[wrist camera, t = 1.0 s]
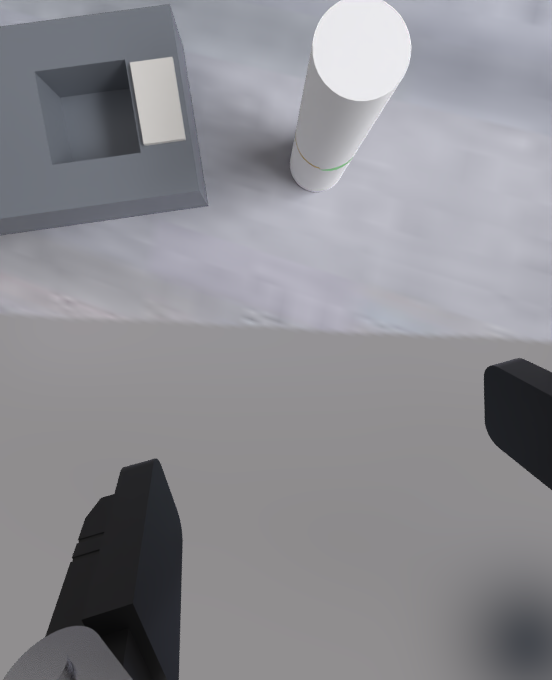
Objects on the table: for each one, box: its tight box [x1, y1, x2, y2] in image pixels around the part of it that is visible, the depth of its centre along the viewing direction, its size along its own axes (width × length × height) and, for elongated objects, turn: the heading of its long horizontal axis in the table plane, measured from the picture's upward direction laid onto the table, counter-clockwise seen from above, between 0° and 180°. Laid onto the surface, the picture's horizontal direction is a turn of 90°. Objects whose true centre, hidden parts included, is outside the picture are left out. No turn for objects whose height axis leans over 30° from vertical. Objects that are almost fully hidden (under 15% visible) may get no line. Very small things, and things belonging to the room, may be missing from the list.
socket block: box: [0, 4, 208, 235], centre depth 30 cm, size 24×12×5 cm, turn 98°
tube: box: [290, 0, 411, 192], centre depth 25 cm, size 4×4×15 cm
